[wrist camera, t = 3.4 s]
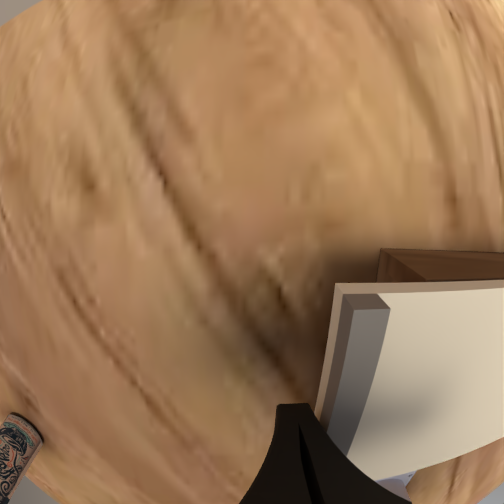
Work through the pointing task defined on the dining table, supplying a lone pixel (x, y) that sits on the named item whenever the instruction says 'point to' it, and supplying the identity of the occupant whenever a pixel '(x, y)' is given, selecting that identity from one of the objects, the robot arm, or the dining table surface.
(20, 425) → the beer can
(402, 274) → the walnut box
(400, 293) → the lid
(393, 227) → the dining table surface
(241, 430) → the dining table surface
